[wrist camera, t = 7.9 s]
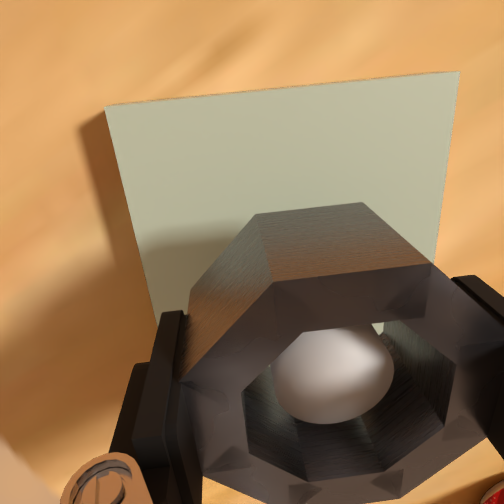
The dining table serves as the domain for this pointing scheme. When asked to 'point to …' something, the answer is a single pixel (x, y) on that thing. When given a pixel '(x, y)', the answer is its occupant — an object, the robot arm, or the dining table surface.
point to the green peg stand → (287, 198)
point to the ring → (322, 318)
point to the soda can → (494, 494)
